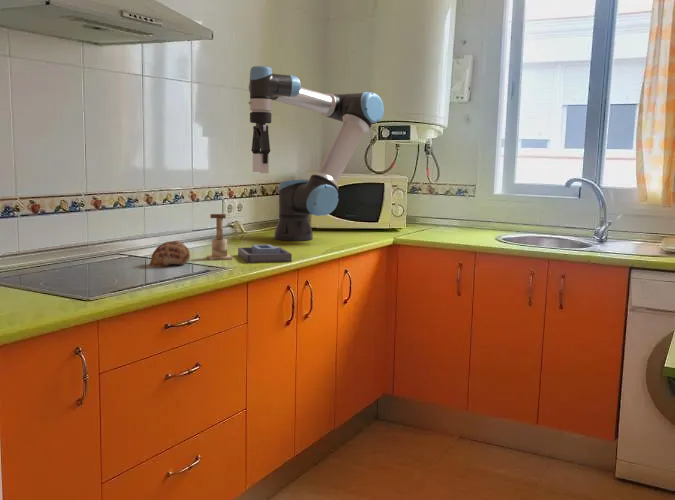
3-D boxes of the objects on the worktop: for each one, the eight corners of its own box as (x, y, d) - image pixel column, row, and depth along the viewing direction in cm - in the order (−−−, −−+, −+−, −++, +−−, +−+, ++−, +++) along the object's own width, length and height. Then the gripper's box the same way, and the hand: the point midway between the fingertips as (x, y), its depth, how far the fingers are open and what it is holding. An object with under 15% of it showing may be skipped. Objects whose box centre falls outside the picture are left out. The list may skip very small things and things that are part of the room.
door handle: (228, 256, 237) (228, 213, 235) (232, 259, 230) (232, 215, 228) (207, 257, 235) (207, 213, 233) (210, 260, 228) (210, 215, 226)
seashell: (170, 258, 226) (181, 232, 222) (187, 276, 222) (199, 250, 218) (143, 261, 217) (154, 235, 213) (160, 280, 214) (172, 253, 209)
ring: (251, 254, 238) (251, 244, 237) (275, 254, 240) (275, 244, 240) (257, 258, 229) (257, 248, 228) (281, 258, 231) (281, 248, 231)
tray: (279, 254, 244) (279, 246, 244) (291, 261, 228) (291, 253, 228) (238, 255, 240) (238, 247, 240) (247, 263, 224) (247, 255, 224)
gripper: (243, 112, 264) (243, 171, 267) (257, 109, 241) (257, 173, 244) (263, 113, 267) (263, 171, 270) (279, 110, 243) (278, 174, 246)
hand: (260, 172), depth 257 cm, fingers open, 13 cm apart
